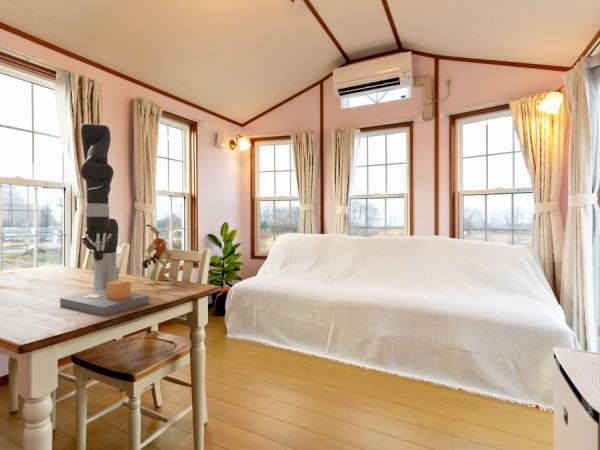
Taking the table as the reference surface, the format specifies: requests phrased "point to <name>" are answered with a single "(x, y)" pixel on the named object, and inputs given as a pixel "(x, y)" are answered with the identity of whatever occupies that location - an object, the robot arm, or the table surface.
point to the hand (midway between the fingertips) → (98, 260)
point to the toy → (156, 258)
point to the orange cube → (118, 289)
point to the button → (94, 296)
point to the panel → (102, 302)
